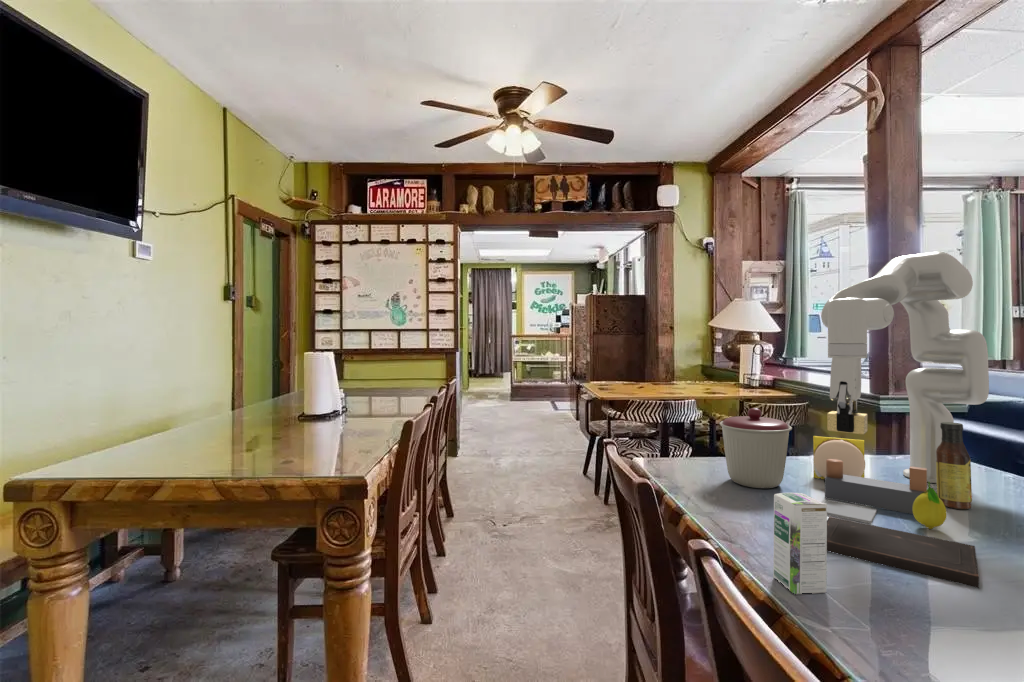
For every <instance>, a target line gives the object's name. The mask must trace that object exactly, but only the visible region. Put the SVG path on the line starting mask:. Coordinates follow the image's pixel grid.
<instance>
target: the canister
mask: <svg viewBox="0 0 1024 682" xmlns="http://www.w3.org/2000/svg"><path fill="white" fill-rule="evenodd" d="M762 414H763V412H762V411H761V409H759V408H757V407H752V408H749V409H748V410H747V415H743V416H741V415H740V416H731V417H727V418H725V419H723V420H722V421H720V422H719V425H720V427H722V428H721V429H722V438H723V445H724V446H723V447H724V448H723V449H724V455H725V460H726V461H725V462H726V468H727V473H728V475H729V478H730V479H731V481H732V482H734V483H735V484H738V485H740V486H744V487H749V488H753V489H772V488H776V487H778V486H779V485H780V484H781V483H782V481H783V479H784V476H785V469H786V463H787V462H786V461H787V453H788V443H789V438H790V437H789V436H790V434H789V433H790V431H792V430H793V427H792V426H791V425H789V424H788V423H786V422H785V421H783V420H780V419H777V418H771V417H765V416H762Z"/></svg>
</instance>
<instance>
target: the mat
mask: <svg viewBox="0 0 1024 682" xmlns="http://www.w3.org/2000/svg"><path fill="white" fill-rule="evenodd" d="M823 503H825V504H827V516H829V517H834V518H839V519H844V520H849V521H854V522H859V523H864V524H868V523H870V524H869V525H872V523H873V521H874V518H875V517H876V515H877V513H878V508H873V507H869V506H863V505H858V504H853V503H851V504H850V503H848V502H842V501H837V500H832V499H826V500H825V501H824V502H823Z"/></svg>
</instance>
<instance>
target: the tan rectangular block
mask: <svg viewBox="0 0 1024 682" xmlns="http://www.w3.org/2000/svg"><path fill="white" fill-rule="evenodd" d="M826 415H827V419H826V421H827V431H829V432H837V433H838V432H839V433H842V432H841V431H837V410H836V411H835V410H831V411H829V412H827V414H826ZM852 415H854V432H852V433H851V432H846V433H847V434H856V435H857V434H858V435H865V434H866V433H867V432H868V413H863V412H862V413H861V412H858V413H852Z"/></svg>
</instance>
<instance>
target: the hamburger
mask: <svg viewBox="0 0 1024 682" xmlns="http://www.w3.org/2000/svg"><path fill="white" fill-rule="evenodd" d="M812 438H813V441H812V442H813V444H812V447H813V451H812V452H813V453H812V454H813V459H812V460H813V461H812V463H813V478H814V479H819V478H821V479H820V480H825V478H826V477H827V476H826V460H827V459H836V460H841V461H843V474H844V475H850V476H857V477H863V478H866V476H865V470H866V460H865V440H864V439H852V438H843V437H842V438H841V437H834V436H831V437H828V436H818V435H813V437H812Z"/></svg>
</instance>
